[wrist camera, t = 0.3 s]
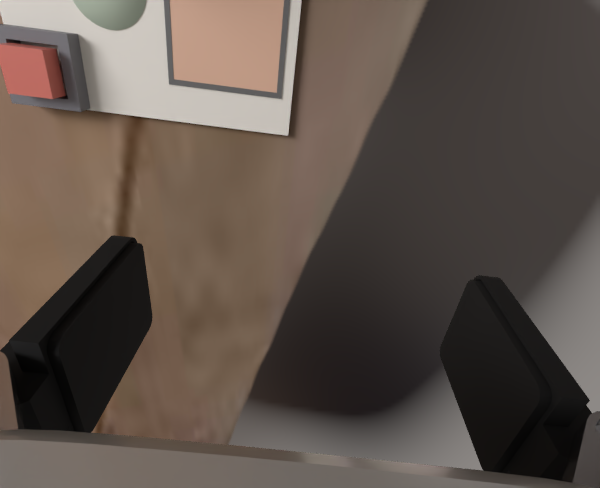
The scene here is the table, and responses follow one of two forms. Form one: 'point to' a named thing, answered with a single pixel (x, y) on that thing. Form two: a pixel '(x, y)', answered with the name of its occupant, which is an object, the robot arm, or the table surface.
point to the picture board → (167, 57)
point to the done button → (31, 70)
